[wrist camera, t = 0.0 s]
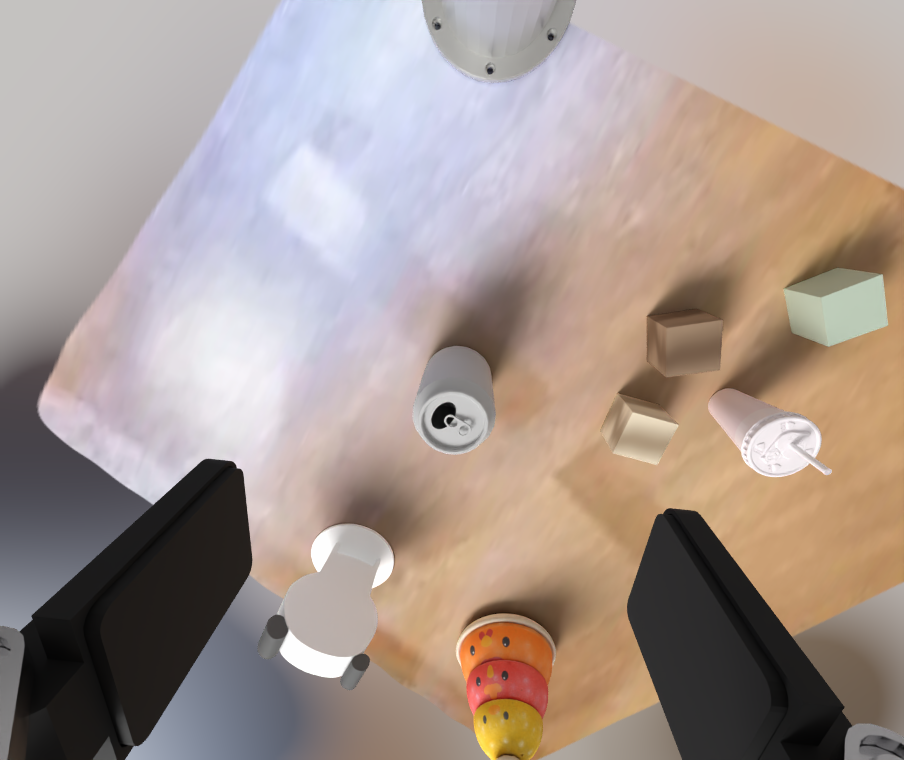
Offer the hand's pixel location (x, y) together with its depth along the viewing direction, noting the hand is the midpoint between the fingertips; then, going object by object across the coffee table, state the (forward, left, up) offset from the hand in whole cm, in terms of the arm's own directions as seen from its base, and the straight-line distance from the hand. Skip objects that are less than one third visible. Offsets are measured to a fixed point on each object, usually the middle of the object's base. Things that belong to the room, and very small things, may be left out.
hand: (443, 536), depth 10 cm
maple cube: (+13, +20, -37) cm, 44 cm away
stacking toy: (+51, +11, -37) cm, 64 cm away
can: (+10, 0, -37) cm, 38 cm away
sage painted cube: (-2, +35, -37) cm, 51 cm away
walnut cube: (+3, +22, -37) cm, 43 cm away
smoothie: (+10, +30, -37) cm, 49 cm away
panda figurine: (+38, -12, -37) cm, 54 cm away
